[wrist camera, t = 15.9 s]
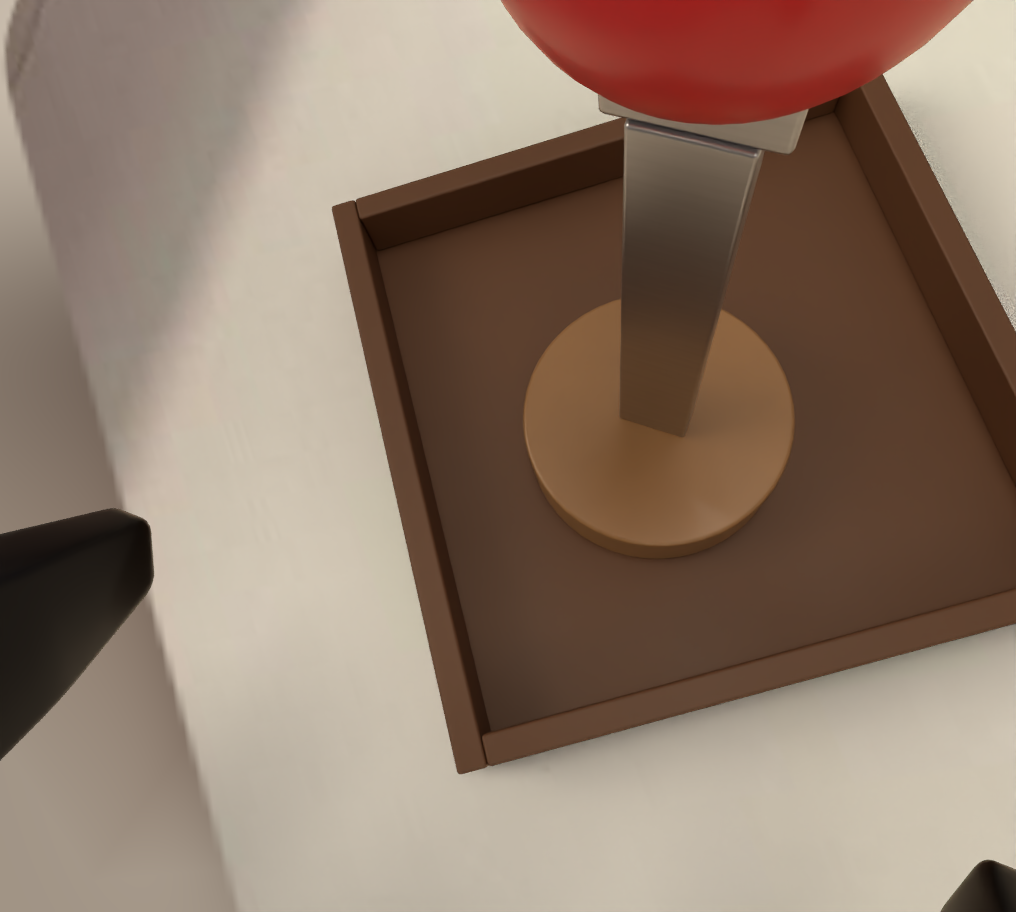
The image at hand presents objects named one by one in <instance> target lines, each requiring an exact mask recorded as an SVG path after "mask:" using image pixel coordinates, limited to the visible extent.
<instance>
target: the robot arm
mask: <svg viewBox="0 0 1016 912" xmlns="http://www.w3.org/2000/svg"><path fill="white" fill-rule="evenodd" d="M153 578H154V566H153V552H152V539H151V529H150V526H149V524H148V523H147V521H146V520H144V519H143V518H141V517H138V516H136V515H133V514H131V513H128V512H126V511H123V510H121V509H116V508H111V509H106V510H101V511H97V512H93V513H89V514H84V515H80V516H75V517H71V518H67V519H63V520H58V521H55V522H50V523H46V524H41V525H38V526H33V527H29V528H24V529H20V530H16V531H12V532H7V533H3V534H0V760H1V759H2V758H3V757H4V756H5V755H6V754H7V753H8V752H9V751H10V750H11V749H12V748H13V747H14V746H15V745H16V744H17V743H18V742H19V741H20V740H21V739H22V738H23V737H24V736H25V735H26V734H27V733H28V732H29V731H30V730H31V729H32V728H33V727H34V726H35V725H36V724H37V723H38V722H39V721H40V720H41V719H42V718H43V717H44V716H45V715H46V714H47V713H48V712H49V711H50V710H51V708H52V707H53V706H54V705H55V704H56V703H57V702H58V701H59V700H60V699H61V697H63V695H64V694H65V693H66V692H67V691H68V690H69V688H70V687H71V686H72V685H73V684H74V683H75V682H76V680H77V679H78V678H79V677H80V675H81V674H82V673H83V672H84V671H85V669H86V668H87V667H88V666H89V665H90V663H91V662H92V661H93V660H94V658H95V657H96V656H97V655H98V654H99V652H100V651H101V650H102V649H103V647H104V646H105V645H106V644H107V643H108V641H109V640H110V639H111V638H112V636H113V635H114V634H115V633H116V632H117V630H118V629H119V628H120V627H121V626H122V624H123V623H124V622H125V621H126V619H127V618H128V617H129V616H130V614H131V613H132V612H133V611H134V610H135V608H136V607H137V606H138V605H139V604H140V602H141V601H142V600H143V599H144V597H145V596H146V595H147V593H148V591H149V589H150V588H151V585H152V582H153ZM941 912H1016V869H1013V868H1011V867H1008V866H1006V865H1003V864H1001V863H998V862H996V861H993V860H984V861H982V862H980V863H978V864H977V865H976V866H975V867H974V869H973V870H972V871H971V872H970V874H969V875H968V876H967V877H966V879H965V880H964V881H963V882H962V884H961V885H960V886H959V887H958V889H957V890H956V891H955V892H954V894H953V895H952V896H951V897H950V899H949V900H948V901H947V902H946V904H945V905H944V907H943V908H942V910H941Z"/></svg>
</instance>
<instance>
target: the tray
mask: <svg viewBox="0 0 1016 912" xmlns="http://www.w3.org/2000/svg"><path fill="white" fill-rule="evenodd" d="M625 122H626V118H619V119H616V120H612V121H609V122H606V123H603V124H599V125H596V126H593V127H590V128H586V129H583V130H580V131H577V132H573V133H570V134H567V135H564V136H560V137H557V138H554V139H551V140H547V141H544V142H541V143H538V144H534V145H531V146H528V147H525V148H521V149H518V150H515V151H512V152H508V153H505V154H502V155H499V156H495V157H492V158H489V159H486V160H482V161H479V162H476V163H473V164H469V165H466V166H463V167H460V168H456V169H453V170H450V171H447V172H443V173H440V174H437V175H434V176H430V177H427V178H424V179H421V180H417V181H414V182H411V183H407V184H404V185H401V186H398V187H394V188H391V189H388V190H385V191H381V192H378V193H375V194H372V195H368V196H365V197H362V198H359V199H357V200H356V202H355V201H354V200H352V201H348V202H345V203H342V204H339V205H335V206H333V207H332V212H333V216H334V221H335V225H336V230H337V234H338V239H339V243H340V248H341V252H342V257H343V261H344V266H345V270H346V275H347V279H348V284H349V288H350V293H351V297H352V302H353V306H354V311H355V315H356V320H357V324H358V329H359V333H360V338H361V342H362V347H363V351H364V355H365V360H366V364H367V369H368V373H369V378H370V382H371V387H372V391H373V396H374V400H375V405H376V409H377V414H378V418H379V423H380V427H381V432H382V436H383V441H384V445H385V450H386V454H387V459H388V463H389V468H390V472H391V477H392V481H393V486H394V490H395V495H396V499H397V504H398V508H399V513H400V517H401V521H402V526H403V530H404V535H405V539H406V544H407V548H408V553H409V557H410V562H411V566H412V571H413V575H414V580H415V584H416V589H417V593H418V598H419V602H420V607H421V611H422V616H423V620H424V625H425V629H426V634H427V638H428V643H429V647H430V652H431V656H432V661H433V665H434V670H435V674H436V679H437V683H438V687H439V692H440V696H441V701H442V705H443V710H444V714H445V719H446V723H447V728H448V732H449V737H450V741H451V746H452V750H453V755H454V759H455V764H456V768H457V772H458V773H459V774H464V773H468V772H472V771H475V770H479V769H483V768H486V767H487V766H494V765H497V764H501V763H505V762H508V761H512V760H516V759H519V758H523V757H527V756H530V755H534V754H538V753H541V752H545V751H549V750H552V749H556V748H560V747H563V746H567V745H571V744H574V743H578V742H582V741H585V740H589V739H593V738H596V737H600V736H604V735H607V734H611V733H615V732H619V731H622V730H626V729H630V728H633V727H637V726H641V725H644V724H648V723H652V722H655V721H659V720H663V719H666V718H670V717H674V716H677V715H681V714H685V713H688V712H692V711H696V710H699V709H703V708H707V707H710V706H714V705H718V704H721V703H725V702H729V701H732V700H736V699H740V698H743V697H747V696H751V695H755V694H758V693H762V692H766V691H769V690H773V689H777V688H780V687H784V686H788V685H791V684H795V683H799V682H802V681H806V680H810V679H813V678H817V677H821V676H824V675H828V674H832V673H835V672H839V671H843V670H846V669H850V668H854V667H857V666H861V665H865V664H868V663H872V662H876V661H879V660H883V659H887V658H891V657H894V656H898V655H902V654H905V653H909V652H913V651H916V650H920V649H924V648H927V647H931V646H935V645H938V644H942V643H946V642H949V641H953V640H957V639H960V638H964V637H968V636H971V635H975V634H979V633H982V632H986V631H990V630H993V629H997V628H1001V627H1004V626H1008V625H1012V624H1015V623H1016V332H1015V330H1014V328H1013V326H1012V324H1011V322H1010V320H1009V318H1008V316H1007V314H1006V312H1005V311H1004V309H1003V307H1002V305H1001V303H1000V301H999V299H998V297H997V295H996V293H995V291H994V289H993V287H992V285H991V283H990V281H989V280H988V278H987V276H986V274H985V272H984V270H983V268H982V266H981V264H980V262H979V260H978V258H977V256H976V254H975V252H974V250H973V249H972V247H971V245H970V243H969V241H968V239H967V237H966V235H965V233H964V231H963V229H962V227H961V225H960V223H959V221H958V219H957V218H956V216H955V214H954V212H953V210H952V208H951V206H950V204H949V202H948V200H947V198H946V196H945V194H944V192H943V190H942V188H941V187H940V185H939V183H938V181H937V179H936V177H935V175H934V173H933V171H932V169H931V167H930V165H929V163H928V161H927V159H926V157H925V156H924V154H923V152H922V150H921V148H920V146H919V144H918V142H917V140H916V138H915V136H914V134H913V132H912V130H911V128H910V127H909V125H908V123H907V121H906V119H905V117H904V115H903V113H902V111H901V109H900V107H899V105H898V103H897V101H896V99H895V97H894V96H893V94H892V92H891V90H890V88H889V86H888V84H887V82H886V80H885V78H884V76H883V74H882V75H880V76H879V77H877V78H876V79H874V80H872V81H870V82H868V83H866V84H864V85H863V86H861V87H859V88H857V89H855V90H853V91H851V92H849V93H848V94H845V95H843V96H840V97H838V98H835V99H833V100H830V101H828V102H825V103H823V104H820V105H817V106H815V107H812V108H809V109H808V112H807V115H806V118H805V121H804V124H803V127H802V130H801V133H800V136H799V139H798V142H797V145H796V148H795V149H794V151H793V152H792V153H791V154H790V155H782V154H778V153H773V152H769V151H765V152H764V156H763V160H762V163H761V167H760V170H759V174H758V178H757V181H756V185H755V189H754V192H753V196H752V199H751V203H750V207H749V210H748V214H747V218H746V221H745V225H744V228H743V232H742V236H741V239H740V243H739V247H738V250H737V254H736V257H735V261H734V265H733V268H732V272H731V276H730V279H729V283H728V286H727V290H726V294H725V297H724V301H723V305H722V308H721V309H723V310H725V311H727V312H729V313H730V314H732V315H734V316H735V317H737V318H738V319H740V320H741V321H743V322H744V323H745V324H746V325H748V326H749V327H750V328H751V329H752V330H754V331H755V332H756V333H757V334H758V335H759V336H760V338H761V339H762V340H763V341H764V342H765V343H766V344H767V345H768V347H769V348H770V349H771V351H772V352H773V354H774V355H775V356H776V358H777V360H778V361H779V363H780V365H781V367H782V369H783V371H784V373H785V375H786V378H787V381H788V384H789V386H790V389H791V394H792V399H793V403H794V413H795V430H794V441H793V445H792V449H791V454H790V458H789V460H788V463H787V465H786V468H785V470H784V473H783V475H782V476H781V478H780V480H779V482H778V483H777V485H776V487H775V489H774V490H773V491H772V492H771V494H770V495H769V496H768V498H767V499H766V500H765V501H764V503H763V504H762V505H761V507H760V508H759V509H758V511H757V512H756V513H755V514H754V516H753V517H752V518H751V519H750V520H749V521H748V522H747V523H746V524H745V525H744V526H743V527H742V528H741V529H739V530H738V531H737V532H735V533H734V534H733V535H731V536H730V537H729V538H727V539H726V540H724V541H722V542H720V543H718V544H716V545H715V546H713V547H710V548H708V549H705V550H703V551H700V552H697V553H694V554H690V555H686V556H682V557H675V558H665V559H649V558H639V557H632V556H627V555H623V554H620V553H616V552H613V551H610V550H608V549H606V548H603V547H601V546H599V545H596V544H595V543H593V542H591V541H590V540H588V539H586V538H584V537H583V536H581V535H580V534H579V533H577V532H576V531H575V530H574V529H572V528H571V527H570V526H569V525H568V524H567V523H566V522H565V521H564V520H563V519H562V518H561V517H560V516H559V515H558V514H557V513H556V511H555V510H554V509H553V507H552V506H551V505H550V503H549V502H548V501H547V499H546V497H545V495H544V493H543V492H542V490H541V488H540V486H539V483H538V480H537V478H536V475H535V473H534V470H533V467H532V464H531V462H530V459H529V456H528V452H527V448H526V444H525V440H524V430H523V407H524V401H525V396H526V391H527V387H528V384H529V381H530V378H531V375H532V373H533V371H534V369H535V367H536V365H537V363H538V361H539V359H540V358H541V356H542V355H543V353H544V352H545V350H546V349H547V347H548V346H549V345H550V344H551V343H552V341H553V340H554V339H555V338H556V337H557V336H558V335H559V334H560V333H561V332H562V331H563V330H564V329H565V328H566V327H567V326H569V325H570V324H571V323H572V322H574V321H575V320H577V319H578V318H580V317H581V316H582V315H584V314H586V313H588V312H589V311H591V310H593V309H595V308H597V307H599V306H602V305H604V304H607V303H609V302H612V301H615V300H619V299H621V288H622V231H623V173H624V124H625Z"/></svg>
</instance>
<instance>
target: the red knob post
mask: <svg viewBox="0 0 1016 912" xmlns="http://www.w3.org/2000/svg"><path fill="white" fill-rule="evenodd" d="M972 1H973V0H501V2H502V3H503V5H504V6H505V8H506V9H507V11H508V12H509V14H510V15H511V16H512V18H513V19H514V21H515V22H516V24H517V25H518V26H519V28H520V29H521V30H522V31H523V32H524V33H525V34H526V35H527V37H528V38H529V39H530V40H531V41H532V42H533V43H534V44H535V45H536V46H537V47H538V48H539V49H540V50H541V51H542V52H543V53H544V54H545V55H546V56H547V57H548V58H549V59H550V60H551V61H552V62H553V63H554V64H555V65H556V66H557V67H559V68H560V69H561V70H562V71H564V72H565V73H566V74H567V75H569V76H570V77H571V78H573V79H574V80H575V81H577V82H579V83H580V84H582V85H584V86H585V87H587V88H589V89H591V90H592V91H594V92H596V93H597V94H598V102H599V110H600V111H601V112H603V113H604V114H609V115H613V116H617V117H622V118H626V122H625V124H624V173H623V231H622V288H621V299H619V300H615V301H612V302H609V303H607V304H604V305H602V306H599V307H597V308H595V309H593V310H591V311H589V312H588V313H586V314H584V315H582V316H581V317H580V318H578V319H577V320H575V321H574V322H572V323H571V324H570V325H569V326H567V327H566V328H565V329H564V330H563V331H562V332H561V333H560V334H559V335H558V336H557V337H556V338H555V339H554V340H553V341H552V343H551V344H550V345H549V346H548V347H547V349H546V350H545V352H544V353H543V355H542V356H541V358H540V359H539V361H538V363H537V365H536V367H535V369H534V371H533V373H532V375H531V378H530V381H529V384H528V387H527V391H526V396H525V401H524V407H523V430H524V440H525V444H526V448H527V452H528V456H529V459H530V462H531V464H532V467H533V470H534V473H535V475H536V478H537V480H538V483H539V486H540V488H541V490H542V492H543V493H544V495H545V497H546V499H547V501H548V502H549V503H550V505H551V506H552V507H553V509H554V510H555V511H556V513H557V514H558V515H559V516H560V517H561V518H562V519H563V520H564V521H565V522H566V523H567V524H568V525H569V526H570V527H571V528H572V529H574V530H575V531H576V532H577V533H579V534H580V535H581V536H583V537H584V538H586V539H588V540H590V541H591V542H593V543H595V544H596V545H599V546H601V547H603V548H606V549H608V550H610V551H613V552H616V553H620V554H623V555H627V556H632V557H639V558H649V559H665V558H675V557H682V556H686V555H690V554H694V553H697V552H700V551H703V550H705V549H708V548H710V547H713V546H715V545H716V544H718V543H720V542H722V541H724V540H726V539H727V538H729V537H730V536H731V535H733V534H734V533H735V532H737V531H738V530H739V529H741V528H742V527H743V526H744V525H745V524H746V523H747V522H748V521H749V520H750V519H751V518H752V517H753V516H754V514H755V513H756V512H757V511H758V509H759V508H760V507H761V505H762V504H763V503H764V501H765V500H766V499H767V498H768V496H769V495H770V494H771V492H772V491H773V490H774V489H775V487H776V485H777V483H778V482H779V480H780V478H781V476H782V475H783V473H784V470H785V468H786V465H787V463H788V460H789V458H790V454H791V449H792V445H793V441H794V430H795V413H794V403H793V399H792V394H791V389H790V386H789V384H788V381H787V378H786V375H785V373H784V371H783V369H782V367H781V365H780V363H779V361H778V360H777V358H776V356H775V355H774V354H773V352H772V351H771V349H770V348H769V347H768V345H767V344H766V343H765V342H764V341H763V340H762V339H761V338H760V336H759V335H758V334H757V333H756V332H755V331H754V330H752V329H751V328H750V327H749V326H748V325H746V324H745V323H744V322H743V321H741V320H740V319H738V318H737V317H735V316H734V315H732V314H730V313H729V312H727V311H725V310H723V309H721V308H722V305H723V301H724V297H725V294H726V290H727V286H728V283H729V279H730V276H731V272H732V268H733V265H734V261H735V257H736V254H737V250H738V247H739V243H740V239H741V236H742V232H743V228H744V225H745V221H746V218H747V214H748V210H749V207H750V203H751V199H752V196H753V192H754V189H755V185H756V181H757V178H758V174H759V170H760V167H761V163H762V160H763V156H764V152H765V151H769V152H773V153H778V154H782V155H790V154H791V153H792V152H793V151H794V149H795V148H796V145H797V142H798V139H799V136H800V133H801V130H802V127H803V124H804V121H805V118H806V115H807V112H808V109H809V108H812V107H815V106H817V105H820V104H823V103H825V102H828V101H830V100H833V99H835V98H838V97H840V96H843V95H845V94H848V93H849V92H851V91H853V90H855V89H857V88H859V87H861V86H863V85H864V84H866V83H868V82H870V81H872V80H874V79H876V78H877V77H879V76H880V75H882V74H883V73H885V72H886V71H888V70H889V69H891V68H892V67H894V66H895V65H897V64H898V63H900V62H901V61H903V60H904V59H906V58H907V57H908V56H910V55H911V54H913V53H914V52H916V51H917V50H918V49H920V48H921V47H923V46H924V45H925V44H926V43H928V42H929V41H930V40H931V39H932V38H933V37H934V36H935V35H936V34H937V33H938V32H940V31H941V30H942V29H943V28H944V27H945V26H946V25H947V24H948V23H949V22H950V21H952V20H953V19H954V18H955V17H956V16H957V15H958V14H959V13H960V12H961V11H962V10H964V9H965V8H966V7H967V6H968V5H969V4H970V3H971V2H972Z"/></svg>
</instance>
